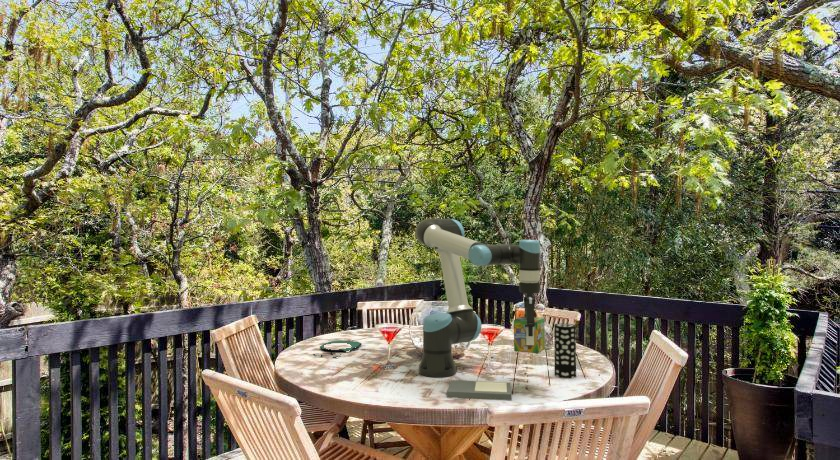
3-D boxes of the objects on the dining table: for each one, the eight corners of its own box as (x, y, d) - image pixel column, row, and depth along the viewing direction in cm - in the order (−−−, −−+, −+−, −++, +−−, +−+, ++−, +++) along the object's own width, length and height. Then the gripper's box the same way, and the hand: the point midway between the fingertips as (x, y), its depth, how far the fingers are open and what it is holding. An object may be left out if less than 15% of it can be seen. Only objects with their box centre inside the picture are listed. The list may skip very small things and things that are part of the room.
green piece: (367, 345, 260) (367, 341, 260) (340, 360, 231) (340, 355, 231) (332, 343, 266) (332, 339, 266) (302, 358, 237) (302, 353, 237)
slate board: (447, 397, 177) (446, 390, 177) (450, 385, 191) (450, 379, 191) (511, 400, 173) (511, 393, 173) (510, 387, 187) (510, 381, 187)
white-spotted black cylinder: (564, 379, 198) (564, 327, 198) (550, 374, 205) (549, 324, 206) (580, 376, 202) (580, 326, 202) (565, 371, 209) (565, 322, 209)
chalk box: (537, 354, 181) (537, 313, 181) (513, 351, 186) (513, 310, 186) (545, 349, 189) (545, 309, 189) (522, 346, 194) (521, 307, 194)
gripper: (542, 285, 175) (542, 349, 175) (537, 278, 198) (537, 335, 198) (520, 284, 176) (520, 348, 176) (517, 278, 200) (517, 334, 200)
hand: (529, 341), depth 187 cm, fingers closed on chalk box, 11 cm apart
